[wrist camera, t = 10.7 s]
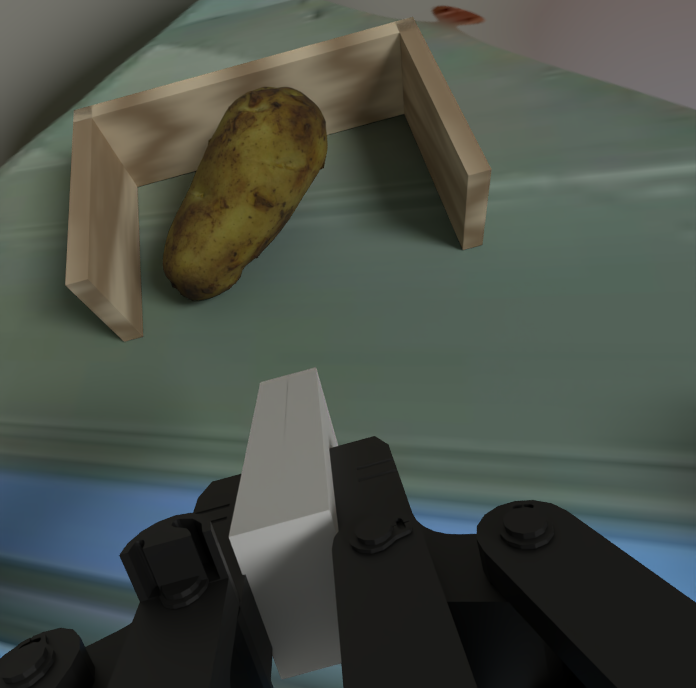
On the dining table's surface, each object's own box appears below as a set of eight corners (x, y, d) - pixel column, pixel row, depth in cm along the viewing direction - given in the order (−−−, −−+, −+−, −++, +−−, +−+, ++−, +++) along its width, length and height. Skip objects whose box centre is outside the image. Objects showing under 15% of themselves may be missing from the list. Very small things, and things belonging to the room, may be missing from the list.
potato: (147, 248, 36) (80, 154, 29) (306, 152, 38) (278, 45, 31) (203, 330, 32) (140, 246, 25) (375, 219, 35) (361, 114, 28)
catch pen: (124, 341, 33) (65, 285, 28) (121, 179, 40) (74, 110, 35) (482, 244, 32) (491, 169, 27) (415, 99, 39) (412, 16, 34)
